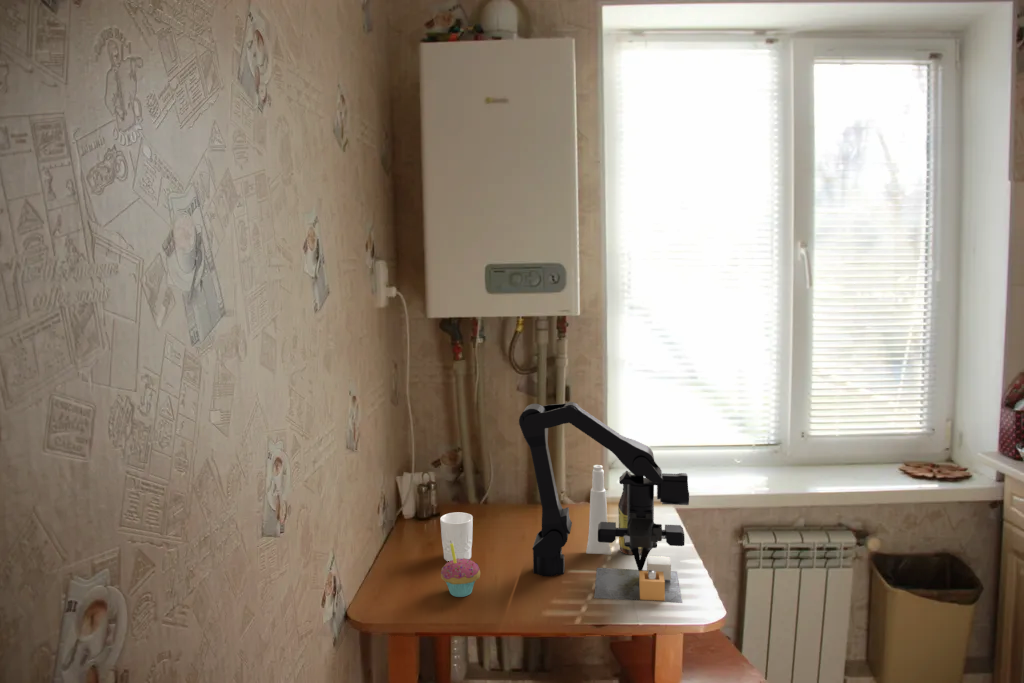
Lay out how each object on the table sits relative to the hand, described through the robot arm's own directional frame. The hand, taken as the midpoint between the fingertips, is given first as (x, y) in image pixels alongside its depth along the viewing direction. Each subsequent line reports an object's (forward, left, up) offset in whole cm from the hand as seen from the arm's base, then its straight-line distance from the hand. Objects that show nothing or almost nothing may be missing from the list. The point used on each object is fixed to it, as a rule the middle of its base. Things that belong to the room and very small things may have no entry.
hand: (640, 570), depth 159 cm
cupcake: (-39, -10, -3) cm, 40 cm away
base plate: (-1, -4, -2) cm, 5 cm away
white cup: (-44, +8, -3) cm, 45 cm away
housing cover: (+4, 0, -1) cm, 4 cm away
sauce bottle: (-2, +16, -3) cm, 16 cm away
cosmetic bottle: (-10, +14, -3) cm, 17 cm away
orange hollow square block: (+2, -9, -1) cm, 9 cm away
